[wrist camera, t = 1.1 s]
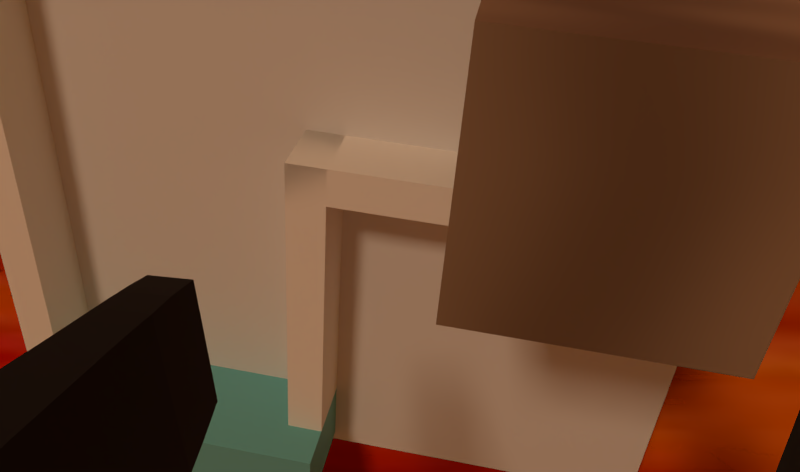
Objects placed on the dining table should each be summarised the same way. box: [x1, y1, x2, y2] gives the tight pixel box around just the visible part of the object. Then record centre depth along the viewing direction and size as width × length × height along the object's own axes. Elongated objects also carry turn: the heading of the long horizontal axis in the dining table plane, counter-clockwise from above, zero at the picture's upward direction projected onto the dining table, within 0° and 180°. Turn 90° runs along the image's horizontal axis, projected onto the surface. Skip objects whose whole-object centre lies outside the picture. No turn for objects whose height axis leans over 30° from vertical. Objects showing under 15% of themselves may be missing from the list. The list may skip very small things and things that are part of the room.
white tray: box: [0, 0, 677, 472], centre depth 18 cm, size 20×20×4 cm
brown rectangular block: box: [436, 0, 800, 379], centre depth 13 cm, size 4×4×8 cm
